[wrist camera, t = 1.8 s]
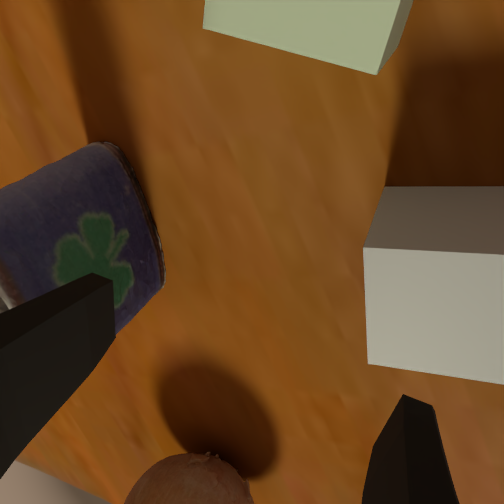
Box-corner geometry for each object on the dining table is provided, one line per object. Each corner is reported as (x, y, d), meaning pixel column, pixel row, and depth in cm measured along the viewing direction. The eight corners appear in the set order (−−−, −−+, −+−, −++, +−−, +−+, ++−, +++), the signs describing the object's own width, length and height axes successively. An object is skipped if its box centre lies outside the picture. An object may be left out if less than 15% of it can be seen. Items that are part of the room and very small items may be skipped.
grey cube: (527, 185, 16) (549, 257, 12) (510, 297, 18) (523, 387, 15) (384, 185, 18) (363, 247, 14) (386, 287, 20) (367, 363, 17)
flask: (83, 139, 23) (-139, 245, 14) (130, 137, 21) (-81, 250, 13) (135, 288, 27) (-9, 435, 19) (176, 293, 26) (41, 451, 18)
